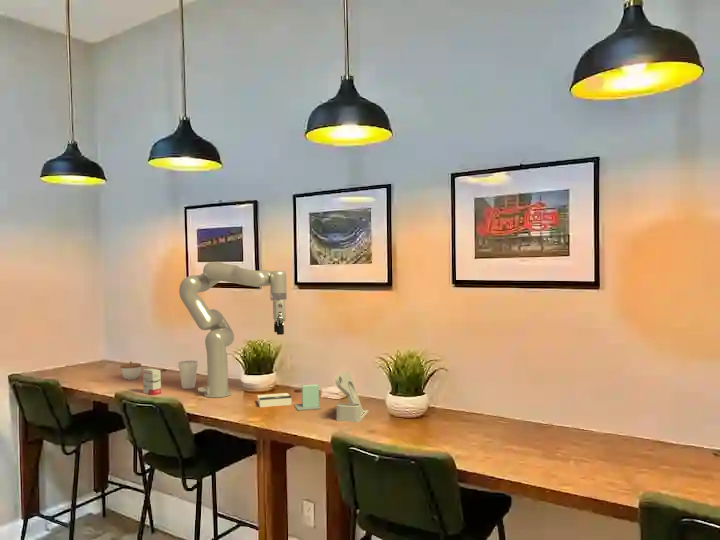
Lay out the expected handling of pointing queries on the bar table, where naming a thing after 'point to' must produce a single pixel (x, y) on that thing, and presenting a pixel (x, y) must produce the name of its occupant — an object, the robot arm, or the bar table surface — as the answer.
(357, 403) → the phone holder
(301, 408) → the mat
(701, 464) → the bar table surface
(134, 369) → the lidded jar
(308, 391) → the ticket
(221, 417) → the bar table surface
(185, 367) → the foam cup
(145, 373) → the ink box
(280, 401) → the box
